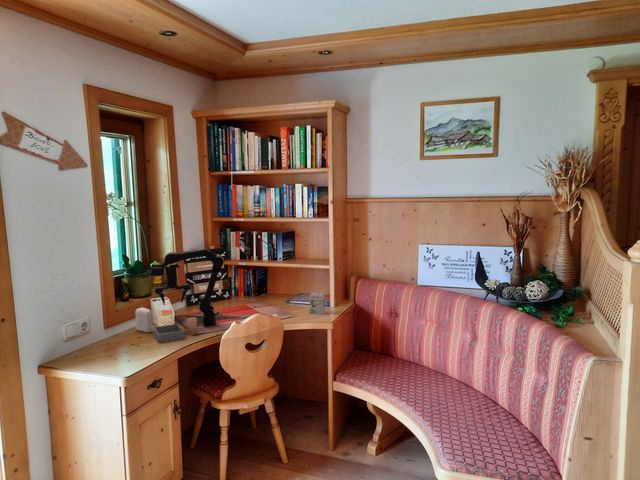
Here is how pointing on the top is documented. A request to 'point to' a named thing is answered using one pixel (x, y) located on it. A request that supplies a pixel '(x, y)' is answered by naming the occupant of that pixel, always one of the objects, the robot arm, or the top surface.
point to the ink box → (317, 303)
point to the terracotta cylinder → (192, 325)
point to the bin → (168, 333)
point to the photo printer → (144, 320)
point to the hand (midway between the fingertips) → (172, 303)
